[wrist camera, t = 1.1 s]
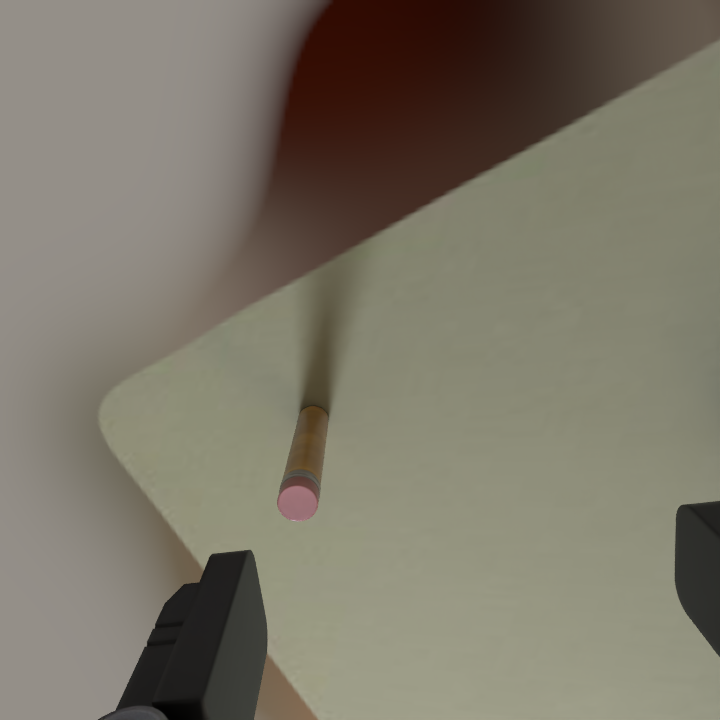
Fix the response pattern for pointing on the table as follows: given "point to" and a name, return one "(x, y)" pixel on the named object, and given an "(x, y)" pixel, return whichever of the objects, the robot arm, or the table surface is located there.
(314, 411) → the pencil
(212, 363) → the table surface
